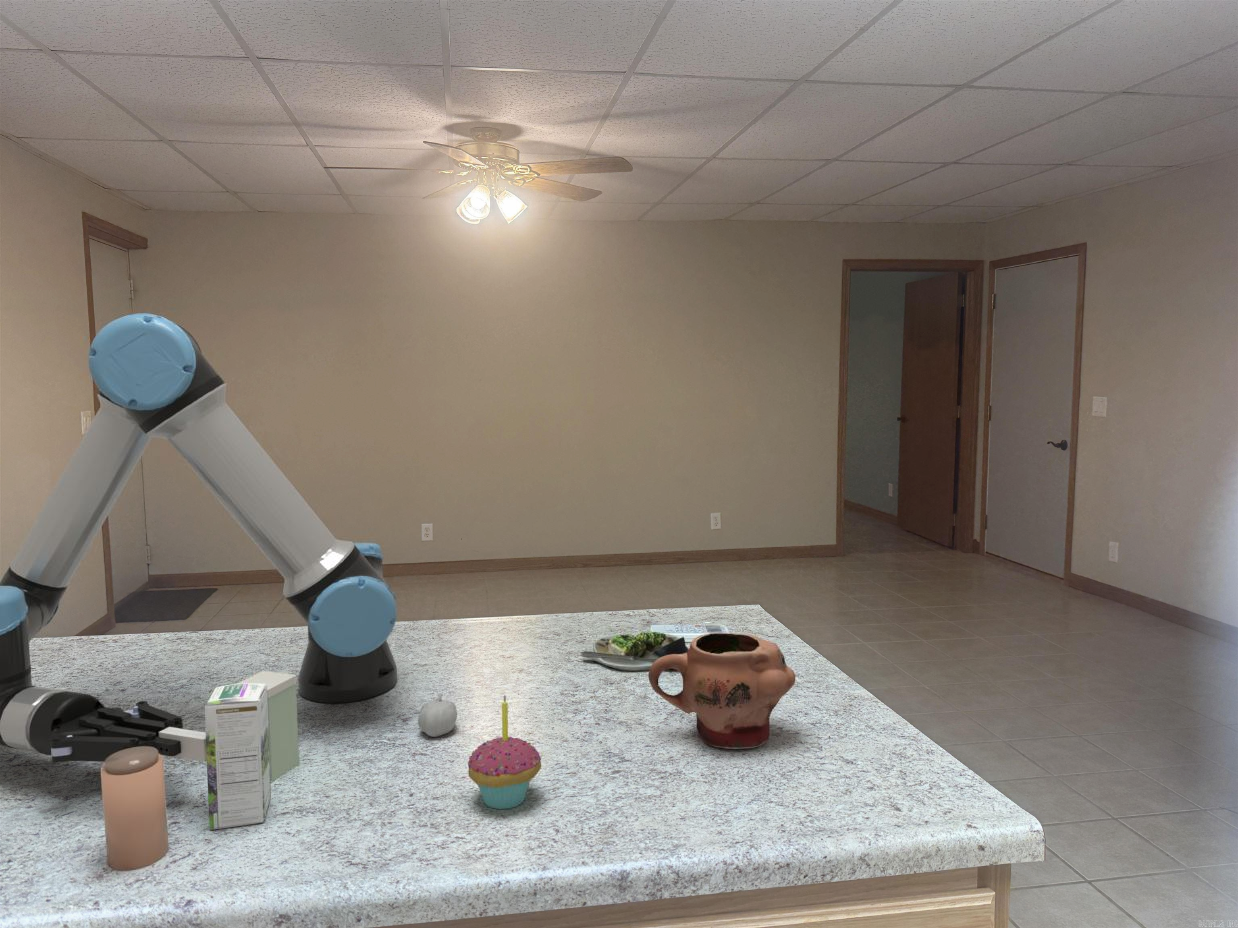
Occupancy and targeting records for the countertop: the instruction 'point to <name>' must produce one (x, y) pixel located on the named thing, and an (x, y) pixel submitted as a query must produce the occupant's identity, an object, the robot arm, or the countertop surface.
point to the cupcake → (504, 767)
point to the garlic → (437, 717)
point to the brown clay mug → (728, 686)
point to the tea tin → (280, 720)
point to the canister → (134, 808)
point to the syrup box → (237, 755)
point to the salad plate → (635, 650)
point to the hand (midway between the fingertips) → (209, 747)
